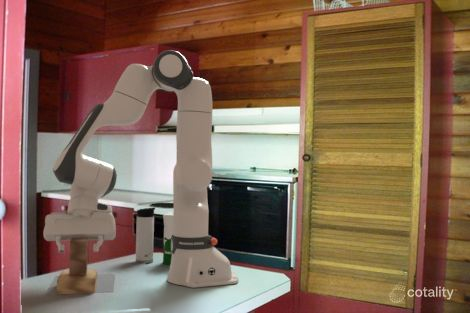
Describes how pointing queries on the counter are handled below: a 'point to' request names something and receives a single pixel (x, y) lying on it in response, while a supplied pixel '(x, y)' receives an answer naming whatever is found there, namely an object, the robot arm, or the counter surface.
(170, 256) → the milk carton
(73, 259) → the walnut column
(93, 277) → the oak base block
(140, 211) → the travel mug
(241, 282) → the counter surface
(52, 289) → the grey mat
